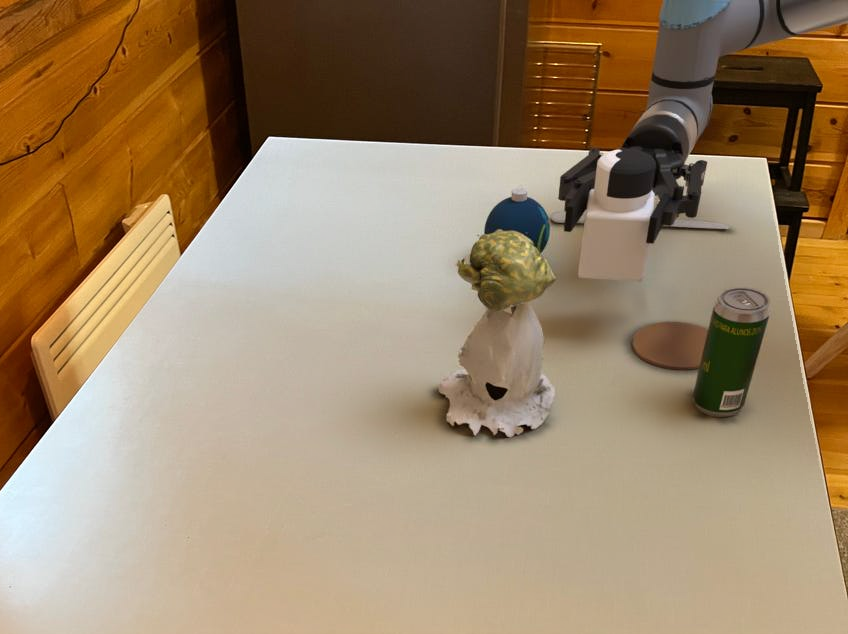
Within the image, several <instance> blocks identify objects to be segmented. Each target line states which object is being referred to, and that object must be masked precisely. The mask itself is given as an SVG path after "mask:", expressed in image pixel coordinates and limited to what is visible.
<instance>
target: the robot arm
mask: <svg viewBox="0 0 848 634" xmlns="http://www.w3.org/2000/svg"><path fill="white" fill-rule="evenodd" d="M658 20H659V23H658V30H657V36H656V44H655V51H654V59H653V66H652V72H651V77H650V83H649V88H648V89H649V90H648V95H647V96H648V97H647V102H646V108H645V110H644V112H643V113H642V115H641V116H640V117H639V119H638V120H637V122H636V123H635V125H634V126H633V127H632V129H631V130H630V132H629V134H628V135H627V136H626V138H625V139H624V141H623V143H622V145H621V146H620V149H635V150H640V151H643V152H645V153H647V154H649V155H651V156H652V157H653V158H654V160H655V162H656V167H655V173H654V179H653V185H652V191H651V192H654V194H655V197H656V196H657V197H658V200H659V201H658V203H657V204H656V206H655V207H654V211H653V213H652V215H651V217H650V221H649V227H648V233H647V239H646V243H649V245H654V243H655V242H656V239H657V238H658V236H659V234H660V232H661V230H662V229H663V227H664V226H663V225H667V226H666V227H672V226H671V225H673V224H674V222H675V220H676V219H677V218H679V216H680V215H681V214H684V215H685V217H686V218H691V219H694V218H696V217H698V212H699V206H700V202H701V196H702V186H703V185H704V183H705V182H704V180H705V178H706V177H705V176H706V173H707V172H706V171H707V168H708V161H707V160H704V159H700V160H697V161H695V162H694V163H692V162H691V163H689V164H686V161H687V160H688V158H689V156H690V155H691V152H692V151H693V149H694V147H695V144H697V141H698V140H699V139H700V137H701V135H702V134H703V133H704V132H705V129H706V127H708V125H709V123H710V122H709V121H710V119H711V114H712V110H713V104H714V103H713V95H712V92H713V87H714V82H715V77H716V72H717V67H718V62H719V58H721V57H724V56H727V55H731V54H734V53H737V52H742V51H745V50H747V49H751V48H755V47H759V46H763V45H766V44H770V43H773V42H779V41H783V40H787V39H790V38H794V37H798V36H801V35H804V34H805V35H806V34H808V33H813V32H816V31H817V32H818V31H820V30H825V29H829V28H832V27H837V26H841V25H845V24H848V0H662V4H661V9H660V11H659V15H658ZM602 155H604V152H601V150H600V148H598V147H591V148H589V150H588V154H587V155H586V156H585V157H584V158H582V159H581V160H580V161H578V162H577V163H576V164H575V165H573V166H571V168H569V169H568V170H566V172H563V173H562V174H561V175H560V176H559V177H560V178H559V187H558V197H557V198H558V200H559V201H561V202H564V209H563V210H564V213H566V216H565V223H564V227H563V232H565V233H572V231H573V230H574V229H575V227H576V225H577V224H578V223H577V222H578V221H579V219H580V218H581V216H582V215H583V214H584V213H586V208H587V202H588V196H589V192H590V190H591V189H594V186H595V178H596V170H597V162H598V160H599V158H600V157H601V156H602ZM682 177H683V180H684V181H685V183H684V185H683V186H682V185H680V184H679V183H678V181H677V180H679V179H681V178H682ZM685 187H686V193H685V195H684V191H685Z"/></svg>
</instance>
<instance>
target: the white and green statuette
mask: <svg viewBox="0 0 848 634" xmlns="http://www.w3.org/2000/svg"><path fill="white" fill-rule="evenodd" d="M476 236H477V237H479V238H478V240H477V241H475V242H474V243H473V245H472V248H471V251H470V254H469V263H470V264H468V263H466V259H465V258H464V257H463V258H462V259H461V260H460V259H457V261H456V263H455V264H454V265H455V266H457V274H458V276H460V278H461V279H462V280H463V281H465V282H467V283H469V284H470V285H471V290H474V291H476V292H477V298H478V299H479V302H480V303H481V304H482V305H483V307H485V308H486V310H485V312H484V313H483V314H482V316H481V318H480V319H479V320H478V322H476V324H475V325H474V327H473V329H472V331H471V332H470V334H469V335H467V336H466V337H467V338H466V339H465V341H464V344H463V345H462V346H461V348H459V351H458V354H457V358H458V359H459V360H458V362H459V366H460V367H463V368H461V369H458V370H456V371H454V372H446V373H445V374H444V378H443V379H441V381H440V382H439V384H438V392H439V393H440V394H442V395H445V398H447V399H448V400H449V408H448V411H447V413H446V414H445V415H446V418H445V419H446V422H447V423H449V424H450V425H451V426H453V427H455V424H457V426H458V425H459V426H460V425H462V424H468V427H469V428H470V430H471V431H472V432H473V433H472V434H473V435H474V436H477V434H478V433H479V432H480V430H481V427H482V426H483V427H486V428H488V429H489V430H490V431H491V432H492V435H493V436H495V435H496V434H498V431H499V432H502V433H505V436H506V437H508V438H512V437H514V436H515V434H516V435H517V436H519V435H520V434H522V433H523V432H524V428H523V427H521V426H523V425H526V426H527V427H530V429H531V430H537V428H539V427H540V426H542V425H543V423H544V422H545V420H546V418H548V415H549V413H550V412H551V411H550V409H551V405H552V404H553V402H554V398H555V395H556V391H555V387H554V385H552V384H551V382H550V380H549V378H548V377H547V376H545V374H544V373H543V362H544V356H543V355H544V354H543V350H544V345H545V337H544V333H543V332H544V331H543V329H542V328H543V327H542V325H541V323H540V321H539V319H538V315H537V314H536V313H535V311H534V309H533V308H532V306H531V303H530V302H532V301H534V300H536V299H539V298H540V297H542V295H544V293H545V292H546V290H547V289H548V288H550V286H552V285H553V284H554V283H555V282H557V274H555V273H553V271H552V268H551V266H550V265H549V262H548V260H547V259H546V258H544V257H543V256H542V253H541V254H540V253H539V251H538V250H537V248H536V247H534V243H533V241H532V240H531V239H529V238H528V237H526V236H524V235H523V234H521V233H519V232H516V231H503V230H501V229H498V230H496V231H495V232H494V233H491V234H484V233H483V234H481V235H480V234H477V235H476ZM488 383H489V384H491V385H492V386H494V387H499V388H504V389H506V390H507V391H506V392H505V394H504V396H502V397H501V398H499V399H496V400H495V399H493V398H492V397H491V396H490V394H489V392H488V390H487V387H486V384H488Z"/></svg>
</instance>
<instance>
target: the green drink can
mask: <svg viewBox="0 0 848 634" xmlns="http://www.w3.org/2000/svg"><path fill="white" fill-rule="evenodd" d="M771 303H772V301H771V298H770V297H769V296H768V295H767V294H766V293H765V292H763V291H761V290H758V289H755V288H752V287H746V286H745V287H743V286H741V287H738V286H737V287H736V286H735V287H729V288H727V289H724V290H722V291H721V292H719V294H718V296H717V300H716V301H714V304H713V307H712V310H711V311H712V312H711V316H710V319H709V325H708V328H707V330H708V333H707V337H706V341H705V345H704V350H703V354H702V358H701V362H700V367H699V368H698V372H697V376H696V381H695V384H694V387H693V388H694V389H693V393H692V399H693V403H694V406H695V408H696V409H697V410H698V411H699V412H701V413H702V414H704V415H707V416H709V417H716V418H728V417H733V416H734V415H736V414H737V413H739V412H740V411H741V409H742V408H743V407H744V406H745V403H746V400H747V397H748V393H749V389H750V386H751V382H752V379H753V376H754V371H755V368H756V364H757V361H758V357H759V354H760V351H761V347H762V344H763V340H764V335H765V332H766V328H767V325H768V321H769V319H770V314H771V307H770V305H771Z"/></svg>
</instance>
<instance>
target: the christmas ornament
mask: <svg viewBox="0 0 848 634" xmlns="http://www.w3.org/2000/svg"><path fill="white" fill-rule="evenodd" d="M520 186H521V187H516V188H513V189H512V190H511V196H509V197H506V198H504V199H502V200H501V201H499V202H498V203H497V204H496V205H495V206H494V207H493V208H492V209H491V211H490V212H489V214H488V216H487V218H486V221H485V224H484V229H483V234H491V233H494V232H495V231H496V230H498V229H501V230H503V231H516V232H519V233H521V234H523V235H524V236H526V237H528V238H529V239H531V240H532V241H533V243H534V247H536V248H537V250H538V251H539V253H540V254H541V255H542V253H543V252H544V250H545V249H546V247H547V245H548V243H549V239H550V234H551V233H550V232H551V223H550V219H549V216H548V213H547V211H546V210H545V208H544V207H543V206H542V204H541V203H539V202H538V201H537V200H535V199H534V198H532V197H529V196H528V190H527V188H523V185H522V184H520Z"/></svg>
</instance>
